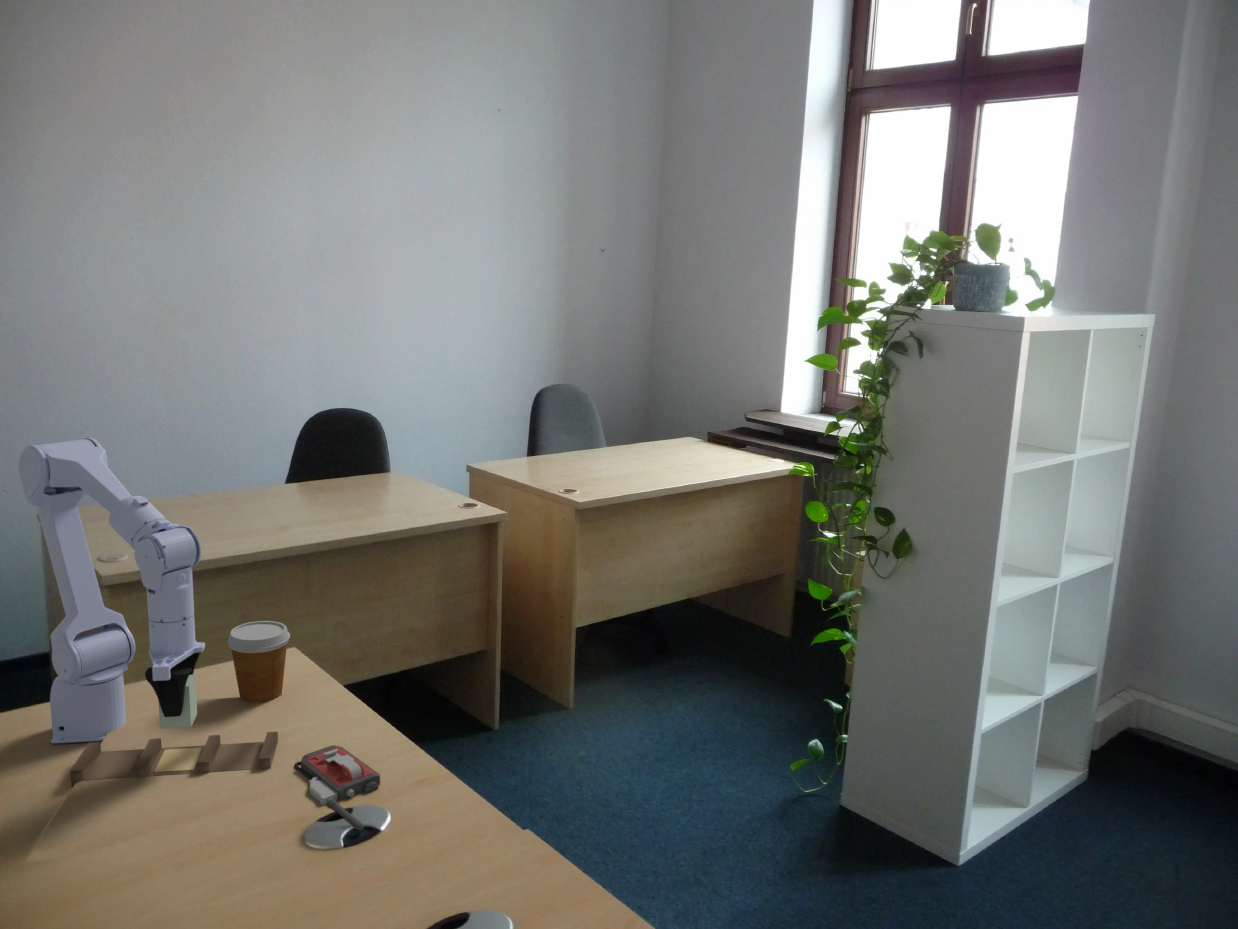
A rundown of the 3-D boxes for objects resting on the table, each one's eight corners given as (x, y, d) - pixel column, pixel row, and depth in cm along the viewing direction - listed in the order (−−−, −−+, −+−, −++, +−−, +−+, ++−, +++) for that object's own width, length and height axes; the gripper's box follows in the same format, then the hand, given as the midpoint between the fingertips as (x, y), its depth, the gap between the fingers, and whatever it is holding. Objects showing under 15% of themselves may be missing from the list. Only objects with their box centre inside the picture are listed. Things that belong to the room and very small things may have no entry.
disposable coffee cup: (228, 692, 161) (225, 623, 159) (288, 684, 165) (286, 617, 163) (232, 716, 153) (228, 644, 150) (295, 707, 157) (293, 637, 154)
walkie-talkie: (280, 779, 136) (353, 841, 122) (279, 750, 135) (353, 809, 121) (337, 758, 142) (413, 816, 128) (336, 730, 141) (413, 785, 127)
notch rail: (71, 788, 131) (70, 770, 130) (90, 758, 138) (88, 742, 138) (270, 774, 136) (270, 758, 135) (278, 747, 144) (277, 731, 143)
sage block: (160, 728, 133) (157, 687, 132) (167, 715, 137) (164, 675, 136) (191, 726, 134) (189, 686, 133) (197, 714, 138) (195, 674, 137)
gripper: (191, 633, 127) (196, 730, 129) (213, 597, 140) (217, 685, 143) (132, 636, 125) (139, 733, 128) (160, 598, 139) (165, 687, 142)
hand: (176, 708), depth 135 cm, fingers closed on sage block, 4 cm apart
